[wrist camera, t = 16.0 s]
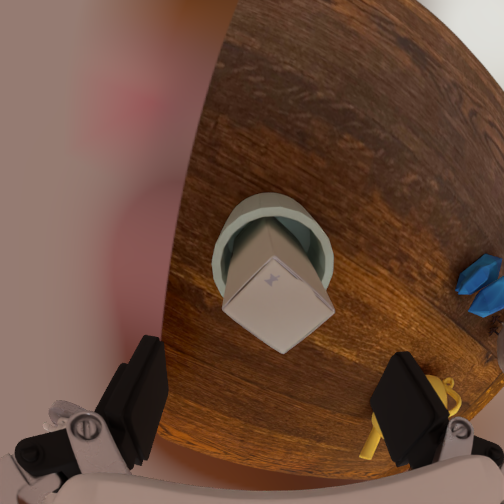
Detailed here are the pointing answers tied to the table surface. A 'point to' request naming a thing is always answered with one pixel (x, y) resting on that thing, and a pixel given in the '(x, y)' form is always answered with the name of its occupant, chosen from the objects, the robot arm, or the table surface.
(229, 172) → the table surface
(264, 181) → the table surface
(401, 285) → the table surface
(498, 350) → the bird
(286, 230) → the box
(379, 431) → the teapot
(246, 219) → the jar
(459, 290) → the crystal
